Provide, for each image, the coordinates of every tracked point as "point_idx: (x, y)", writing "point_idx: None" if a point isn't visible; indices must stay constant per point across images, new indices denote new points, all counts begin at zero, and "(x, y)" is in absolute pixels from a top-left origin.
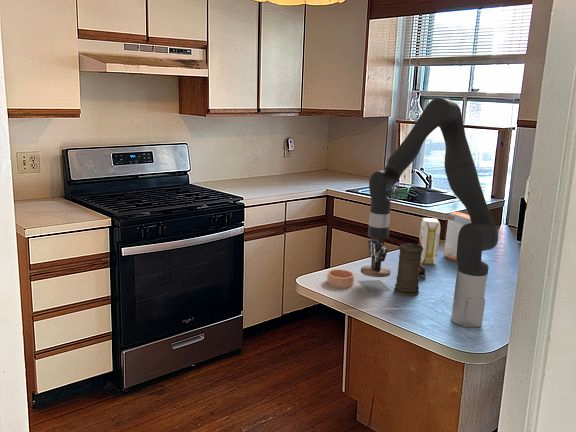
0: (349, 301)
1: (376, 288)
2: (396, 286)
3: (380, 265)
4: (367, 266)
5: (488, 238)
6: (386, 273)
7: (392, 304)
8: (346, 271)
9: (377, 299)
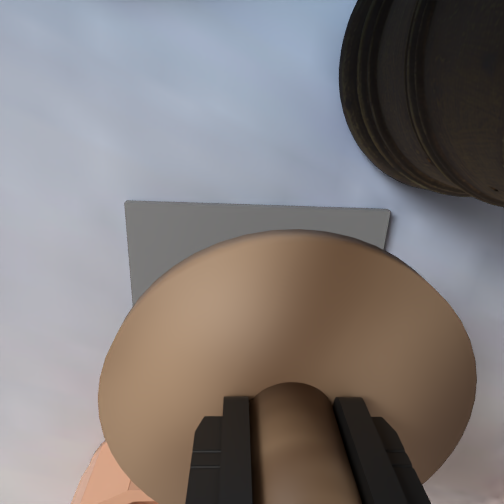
0: (448, 497)
1: None
2: (463, 192)
3: (420, 484)
4: (145, 456)
5: None
6: (456, 350)
7: None
8: None
9: (482, 358)
